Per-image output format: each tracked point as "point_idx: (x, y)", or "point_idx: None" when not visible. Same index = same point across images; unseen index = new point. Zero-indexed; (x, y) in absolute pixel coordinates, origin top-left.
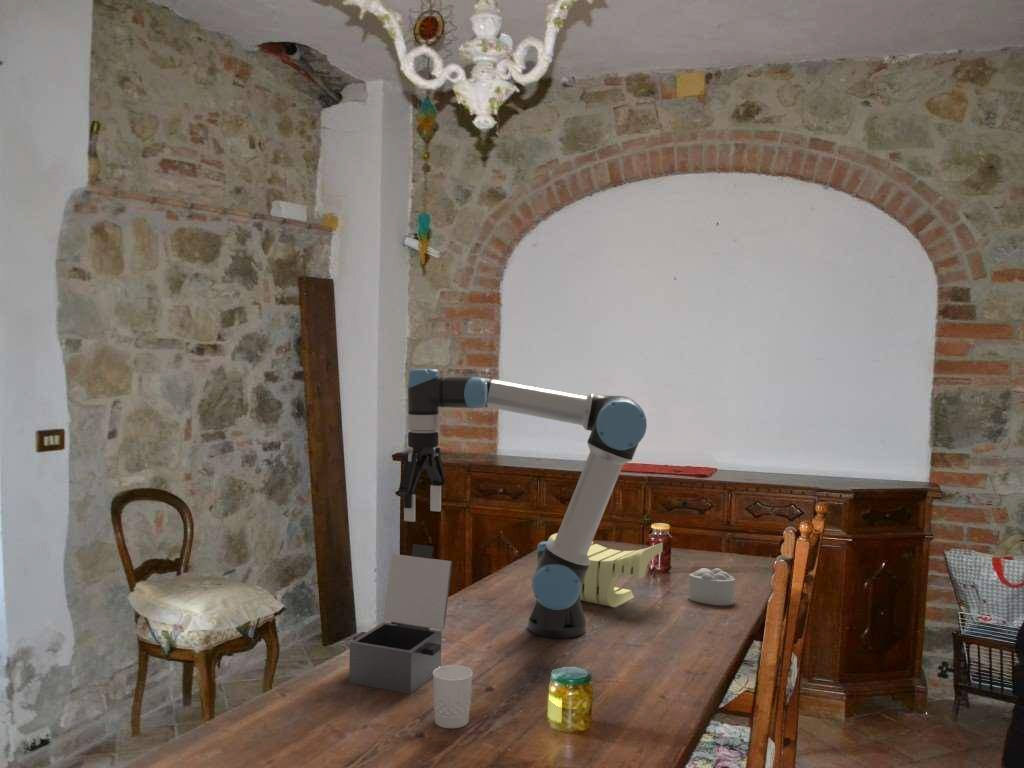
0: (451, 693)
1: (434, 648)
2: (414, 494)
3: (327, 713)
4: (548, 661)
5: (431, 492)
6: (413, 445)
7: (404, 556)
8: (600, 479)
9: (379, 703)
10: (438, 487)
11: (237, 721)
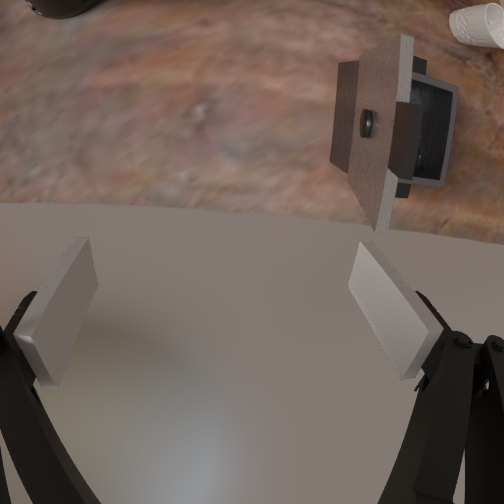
0: (501, 27)
1: (420, 59)
2: (427, 336)
3: (474, 159)
4: None
5: (67, 349)
6: None
7: (395, 191)
8: None
9: None
10: (37, 338)
11: (487, 227)
